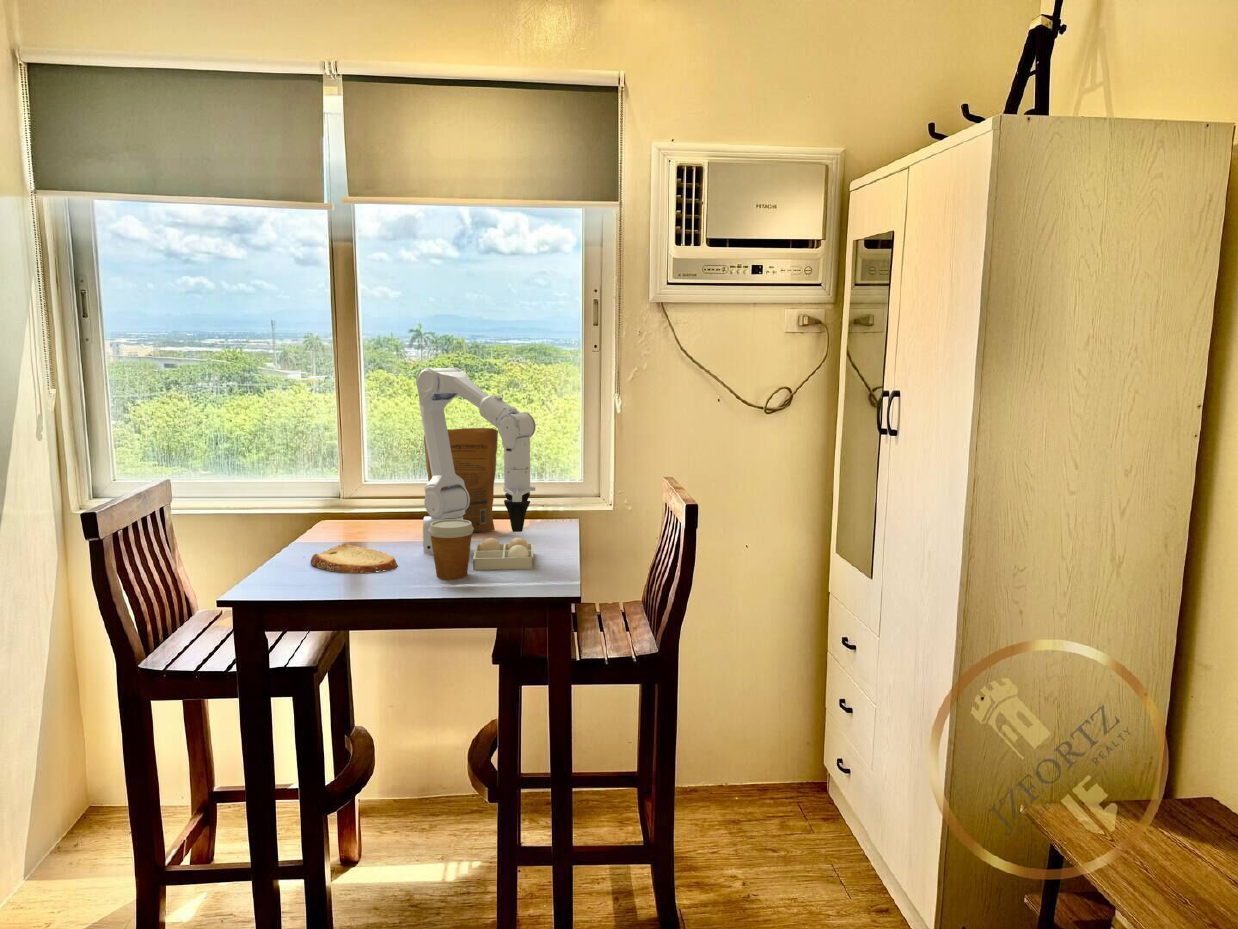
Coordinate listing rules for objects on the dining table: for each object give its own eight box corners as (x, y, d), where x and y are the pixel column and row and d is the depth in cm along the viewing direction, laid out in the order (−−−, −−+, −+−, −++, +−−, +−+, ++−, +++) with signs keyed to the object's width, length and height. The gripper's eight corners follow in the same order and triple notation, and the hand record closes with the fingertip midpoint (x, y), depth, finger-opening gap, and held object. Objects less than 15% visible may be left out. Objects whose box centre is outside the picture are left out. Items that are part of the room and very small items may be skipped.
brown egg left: (479, 560, 184) (479, 540, 183) (481, 555, 188) (480, 536, 188) (500, 560, 184) (500, 540, 184) (500, 554, 189) (500, 535, 188)
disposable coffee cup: (477, 582, 168) (476, 526, 167) (430, 586, 166) (429, 529, 164) (472, 570, 177) (471, 517, 176) (427, 573, 175) (426, 519, 173)
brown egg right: (508, 559, 184) (507, 540, 184) (508, 554, 189) (508, 535, 188) (528, 559, 185) (528, 540, 184) (528, 554, 189) (528, 535, 189)
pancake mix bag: (498, 534, 212) (496, 428, 208) (425, 534, 212) (422, 428, 208) (500, 528, 219) (499, 426, 215) (430, 528, 218) (427, 426, 214)
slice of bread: (400, 571, 178) (400, 555, 177) (313, 580, 171) (313, 563, 170) (389, 552, 194) (389, 537, 193) (310, 559, 187) (309, 543, 186)
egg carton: (473, 572, 176) (472, 558, 176) (476, 556, 189) (476, 544, 189) (533, 570, 178) (533, 557, 177) (532, 555, 191) (532, 543, 190)
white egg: (507, 569, 178) (507, 552, 176) (508, 558, 182) (507, 541, 180) (528, 569, 179) (528, 551, 177) (528, 558, 183) (528, 540, 181)
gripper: (535, 472, 171) (535, 534, 173) (535, 462, 185) (535, 520, 187) (502, 472, 170) (502, 535, 172) (504, 462, 184) (504, 520, 186)
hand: (517, 527), depth 179 cm, fingers open, 7 cm apart
